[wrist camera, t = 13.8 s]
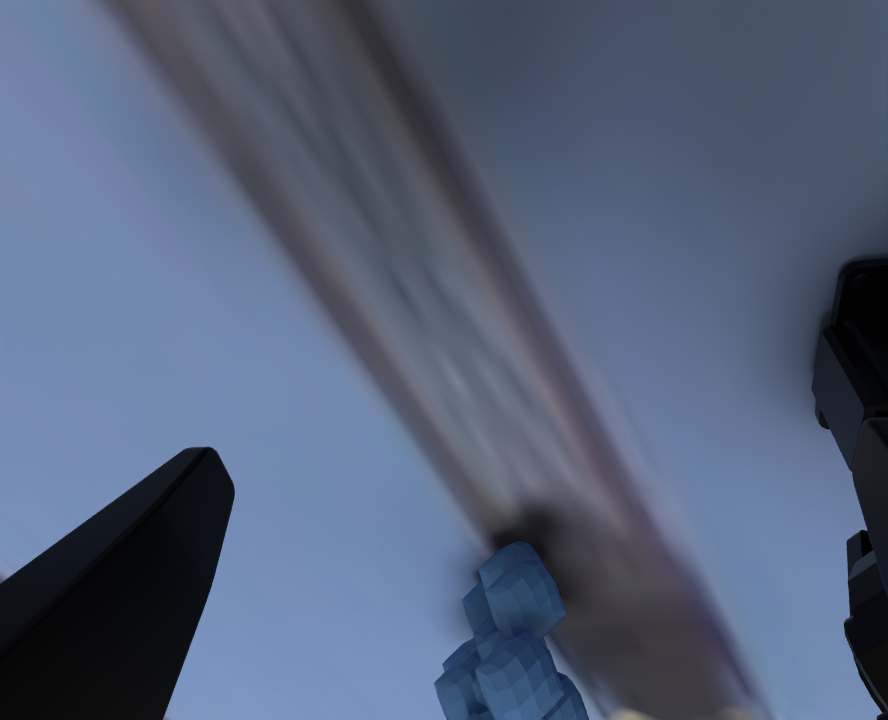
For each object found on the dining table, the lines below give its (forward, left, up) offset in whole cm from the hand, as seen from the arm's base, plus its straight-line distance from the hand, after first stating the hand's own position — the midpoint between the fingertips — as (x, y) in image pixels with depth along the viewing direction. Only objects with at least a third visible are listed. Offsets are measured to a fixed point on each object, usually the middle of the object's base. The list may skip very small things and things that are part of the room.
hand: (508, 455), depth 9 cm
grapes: (+3, +21, -13) cm, 25 cm away
